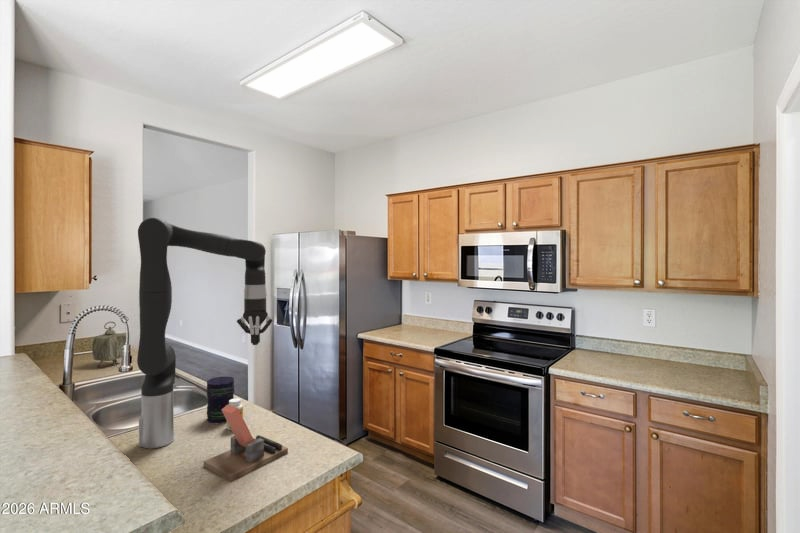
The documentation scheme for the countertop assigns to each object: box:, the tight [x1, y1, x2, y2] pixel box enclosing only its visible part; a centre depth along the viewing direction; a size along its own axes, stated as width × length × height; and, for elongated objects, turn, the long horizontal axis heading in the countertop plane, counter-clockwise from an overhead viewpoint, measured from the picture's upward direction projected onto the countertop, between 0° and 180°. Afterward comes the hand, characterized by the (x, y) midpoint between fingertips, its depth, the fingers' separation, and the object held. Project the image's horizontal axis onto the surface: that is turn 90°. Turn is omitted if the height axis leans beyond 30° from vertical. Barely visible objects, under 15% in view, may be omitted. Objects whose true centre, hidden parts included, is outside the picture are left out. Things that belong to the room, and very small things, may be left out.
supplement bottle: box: [226, 397, 244, 431], centre depth 147 cm, size 6×6×10 cm
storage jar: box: [206, 376, 235, 424], centre depth 155 cm, size 10×10×15 cm
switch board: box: [203, 434, 289, 482], centre depth 124 cm, size 20×14×6 cm
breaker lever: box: [222, 404, 255, 447], centre depth 122 cm, size 2×5×15 cm, turn 55°
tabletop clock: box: [91, 321, 127, 369], centre depth 228 cm, size 14×9×25 cm, turn 168°
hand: (255, 344), depth 145 cm, fingers closed
